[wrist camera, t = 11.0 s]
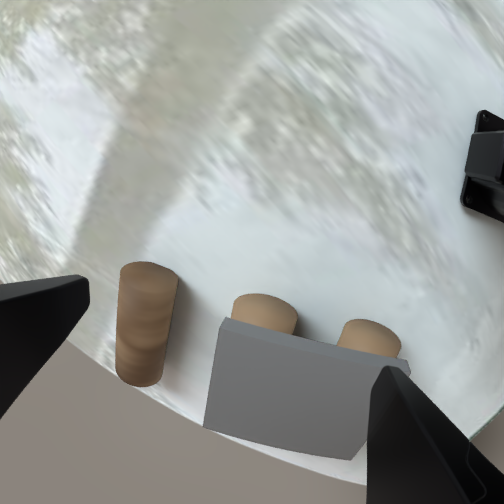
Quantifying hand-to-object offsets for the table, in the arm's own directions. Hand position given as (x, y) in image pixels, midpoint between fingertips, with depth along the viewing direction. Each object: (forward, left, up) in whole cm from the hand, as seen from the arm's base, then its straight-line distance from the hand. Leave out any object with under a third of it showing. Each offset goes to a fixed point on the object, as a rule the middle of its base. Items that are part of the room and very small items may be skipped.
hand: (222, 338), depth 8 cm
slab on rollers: (-4, +9, -12) cm, 16 cm away
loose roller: (+8, +9, -10) cm, 16 cm away
